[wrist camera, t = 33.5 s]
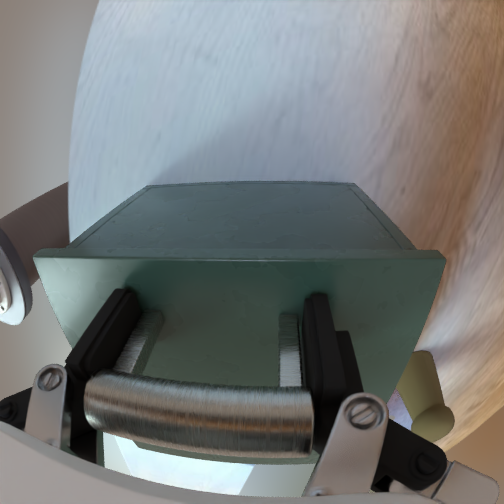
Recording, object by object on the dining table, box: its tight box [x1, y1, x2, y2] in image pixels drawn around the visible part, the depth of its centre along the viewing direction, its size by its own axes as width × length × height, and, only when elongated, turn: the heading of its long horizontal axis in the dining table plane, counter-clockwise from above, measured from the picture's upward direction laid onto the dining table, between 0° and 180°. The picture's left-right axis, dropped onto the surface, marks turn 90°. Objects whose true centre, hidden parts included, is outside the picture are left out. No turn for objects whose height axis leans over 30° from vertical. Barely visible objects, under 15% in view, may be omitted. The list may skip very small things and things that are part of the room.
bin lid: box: [33, 248, 446, 465], centre depth 11 cm, size 17×17×6 cm
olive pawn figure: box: [396, 351, 455, 443], centre depth 26 cm, size 6×6×11 cm
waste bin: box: [65, 181, 417, 250], centre depth 20 cm, size 17×17×13 cm
